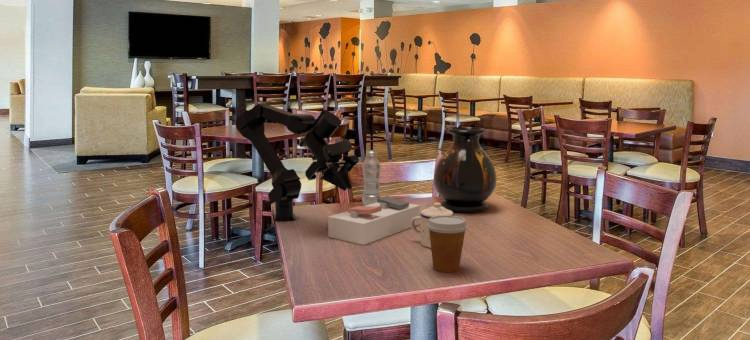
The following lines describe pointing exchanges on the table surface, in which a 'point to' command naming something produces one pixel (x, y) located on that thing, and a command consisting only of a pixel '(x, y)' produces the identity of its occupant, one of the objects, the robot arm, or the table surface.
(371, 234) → the block
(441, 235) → the disposable coffee cup
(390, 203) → the charcoal rocker
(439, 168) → the amphora vase
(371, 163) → the plastic bottle
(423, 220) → the teacup with lid
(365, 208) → the red rocker
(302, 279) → the table surface
